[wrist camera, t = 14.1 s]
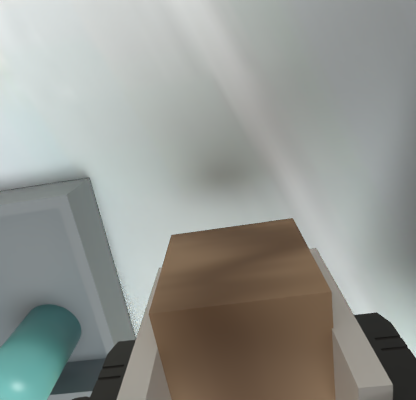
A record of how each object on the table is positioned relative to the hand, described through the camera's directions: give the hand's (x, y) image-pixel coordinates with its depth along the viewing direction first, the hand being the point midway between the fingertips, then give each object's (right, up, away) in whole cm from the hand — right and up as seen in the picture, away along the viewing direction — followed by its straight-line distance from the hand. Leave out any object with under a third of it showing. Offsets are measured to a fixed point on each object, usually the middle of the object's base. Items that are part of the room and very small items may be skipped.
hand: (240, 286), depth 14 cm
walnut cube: (0, 0, 0) cm, 0 cm away
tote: (-16, -4, +15) cm, 22 cm away
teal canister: (-15, -8, +16) cm, 23 cm away
